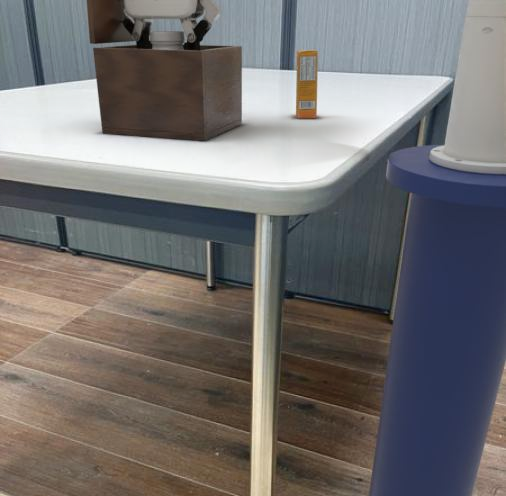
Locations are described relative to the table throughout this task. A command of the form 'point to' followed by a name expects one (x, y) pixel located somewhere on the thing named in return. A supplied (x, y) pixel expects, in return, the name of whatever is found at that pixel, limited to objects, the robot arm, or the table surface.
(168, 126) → the chest
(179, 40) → the pill bottle
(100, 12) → the lid
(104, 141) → the table surface
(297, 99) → the supplement box
